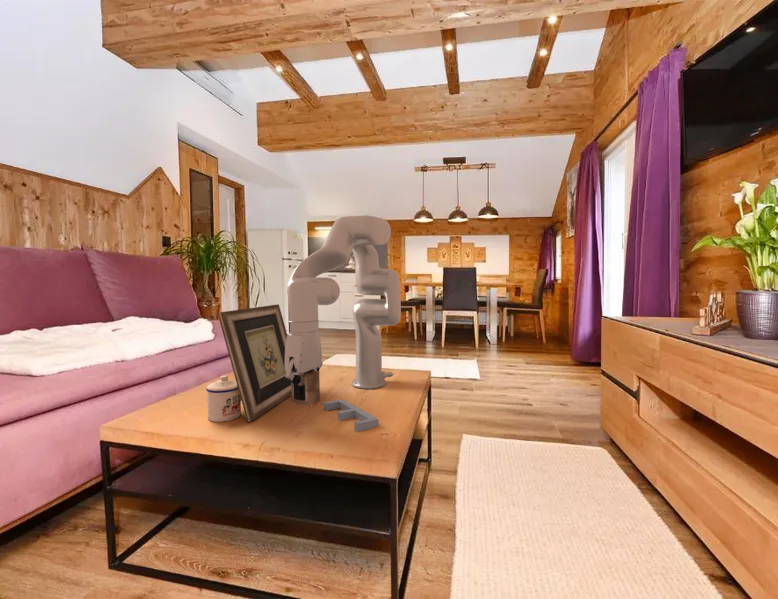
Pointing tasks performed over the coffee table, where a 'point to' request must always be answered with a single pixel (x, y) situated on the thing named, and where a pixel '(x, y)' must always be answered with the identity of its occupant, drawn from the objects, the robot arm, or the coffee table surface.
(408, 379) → the coffee table surface
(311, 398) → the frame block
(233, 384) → the teacup with lid
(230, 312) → the picture frame
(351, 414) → the grey e-shaped bracket
